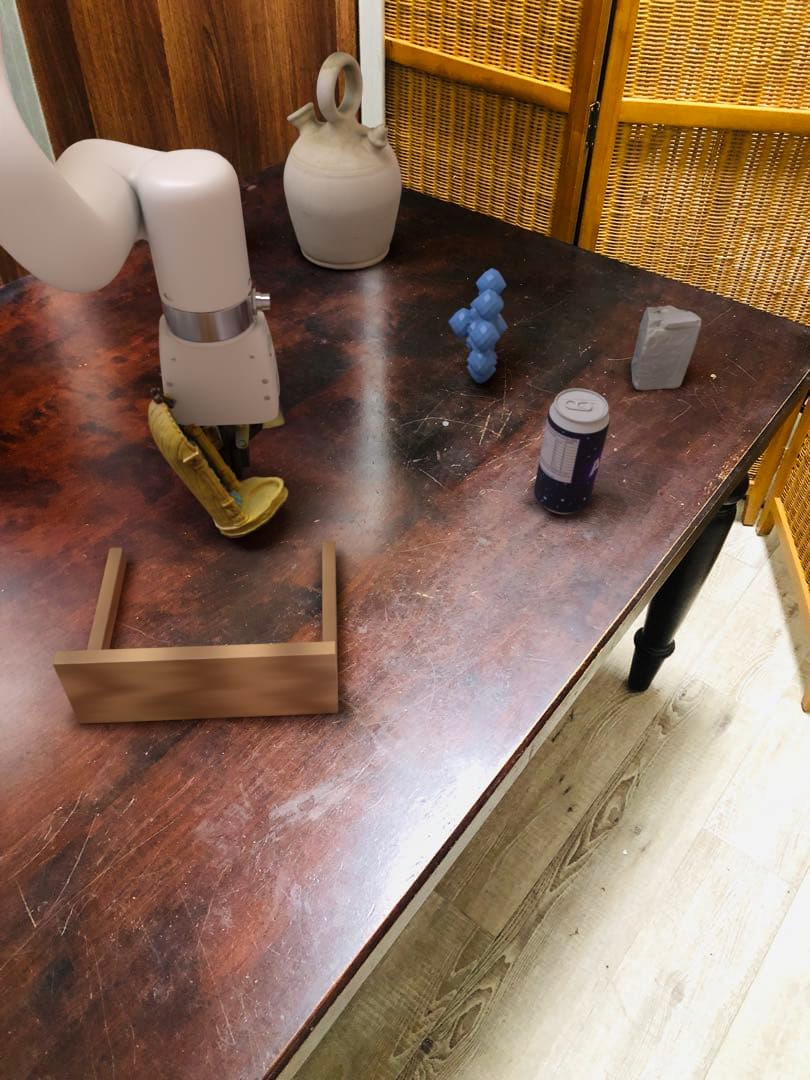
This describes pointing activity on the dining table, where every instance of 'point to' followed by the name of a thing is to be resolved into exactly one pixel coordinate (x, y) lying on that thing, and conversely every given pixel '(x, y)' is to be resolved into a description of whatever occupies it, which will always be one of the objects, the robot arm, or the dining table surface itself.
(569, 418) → the beverage can
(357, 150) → the jug
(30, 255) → the robot arm
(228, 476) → the shrine
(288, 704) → the wooden bench frame
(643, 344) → the mineral specimen
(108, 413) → the dining table surface
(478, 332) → the grapes
